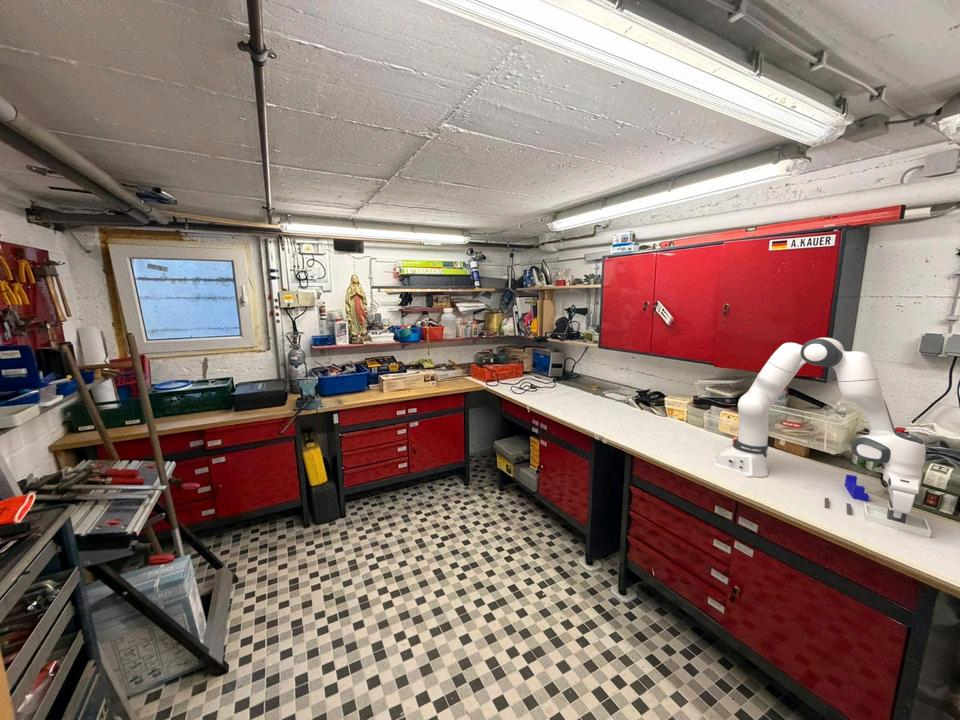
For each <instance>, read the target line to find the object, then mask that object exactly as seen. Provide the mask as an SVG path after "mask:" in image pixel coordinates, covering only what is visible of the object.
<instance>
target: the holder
mask: <svg viewBox="0 0 960 720" xmlns="http://www.w3.org/2000/svg"><path fill="white" fill-rule="evenodd" d="M824 508H825V509H827V510H829V509H830V498H829V497H824ZM845 510H846V515H847V516H852V512H853V511H852V505H851V503H848V502H847V503H846V505H845Z"/></svg>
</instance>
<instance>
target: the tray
mask: <svg viewBox="0 0 960 720" xmlns="http://www.w3.org/2000/svg"><path fill="white" fill-rule="evenodd" d="M862 508H863V517H864V520H865V521H868V522H871V523H874V524H878V525H882V526H885V527H889V528H892V529H896V530H899V531H902V532H903V531H904V532H906V533H907V532H908V533H910V534H914V535H918V536H922V537H926V538H929V539H931V535H932V530H931V526H930V524H929V522H928V520H927V518H926V517H923V516H918V515H914V514H911V513H909V514H907V515H906V522H905V524H904V523H901V522H897V521H893V520H889V519H887V513H888V508H886V507H882V506H878V505H874V504H870V503H867V502H866V503H865V502H863V506H862Z"/></svg>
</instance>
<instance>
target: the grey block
mask: <svg viewBox="0 0 960 720" xmlns="http://www.w3.org/2000/svg"><path fill="white" fill-rule="evenodd" d="M887 509H888V513H887V519H889V520H893V521H897V522H901V523H904V524H905V522H906V515H907V514H905V513H902V515H901V518H896V517H894V516H893V511H894V509H893V506H892V502H891V499H888V502H887Z"/></svg>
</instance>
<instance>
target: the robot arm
mask: <svg viewBox="0 0 960 720" xmlns="http://www.w3.org/2000/svg"><path fill="white" fill-rule="evenodd" d="M806 363H807V364H809V365H812V366H815V367H817V366H819V367H826V368H832V369H833V370H834V372H835V374H836V375H835V376H836V379H837V383H838V385H837V386H838V388H839V391H840V394H841V395H842V397H843V398H844V399H845V400H847V401H848V402H851V403H853V404H855V405H858V406H859V407H860V408H862V410H863V411H864V413H865V417H866V420H867V424H868V426H869V428H870V429H869V433H868V434H865V435H862V436H858V437H856V438H854V439H853V440H852V441H851V443H850V449H851V451H852V453H853V454H854V456H856V457H857V458H858V459H860V460H862V461H864V462H865V461H866V462H870V463H876V464H883V465H884V468H883V476H882V479H883V481H885V482H886V483H887V485H888V486H887V491H888V495H889V498H890V500H891V502H892V506H893V509H894V511H893V516H894V517H896V518H901V515H902V513H905V514H911V512H912V509H913V505H914V503H915V498H916V495H919V493H920V488H921V484H922V479H923V478H922V477H923V470H922V468H923V466H924V464H925V463H926V462H925V460H926V453H927V451H926V450H927V449H926V444H925V441H923V439H921V438H919V437H918V436H916V435H914V434H910V433H907V432H900V431H896V429H895V426H894V423H893V421H892V417H891V414H890V411H889V407H888V406H887V403H886V400H885V398H884V394H883V392H882V389H881V388H882V387H881V383H880V380H879V374H878V371H877V368H876V366H875V364H874V361H873V359H872V357H871V356H870V354H868V353H866V352H864V351H857V350H855V351H851V350H850V351H846V347H845V344H844V343H843V342H842V341H840V339H839V340H838V339H837V338H833V337H818V338H813V339H810V340H808V341H806V342H805V343H804V344H803V345H802V344H799V343H796V342H785V343H783V344H781V345H780V346H779V347H778V348H777V349H776V350H775V351H774V352H773V353H772V354H771V356H770V357H769V359H768V360H767V361H766V363H765V364H764V366H763V367H762V368H761V370H760V371H759V373H758V374H757V376H756V378H755V379H754V382H753V383H752V385H751V386H750V387H749V389H748V390H747V391H746V392H745V393H744V394H743V395H742V396H740V398H739V399H738V402H737V411H738V413H737V414H738V434H737V436H738V437H737V436H734V437H733V438H732V443H731V444H732V445H731V446H728V447H724V448H722V449H721V450H719V452H718V454H717V456H715V457H713V458H712V459H711V462H710V463H711V465H712V466H713V467H716V468H720V469H722V470H724V471H728V472H729V473H732V474H735V475H739V476H742V477H744V478H764V477H765V478H766V477H768V476H769V469H768V463H767V457H768V455H769V444H768V439H769V429H770V427H769V411H770V409H771V408H772V407H773V406H774V405H775V403H776V402H777V401H778V399H779V398H780V396H781V395H782V394H783V392H784V391H785V389H786V387H788V385H789V384H790V382H791V381H792V380H793V379H794V377H795V376H796V375H797V374H798V372H799V370H800V369H801V368H802V367H803V366H804V365H805V364H806Z"/></svg>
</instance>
